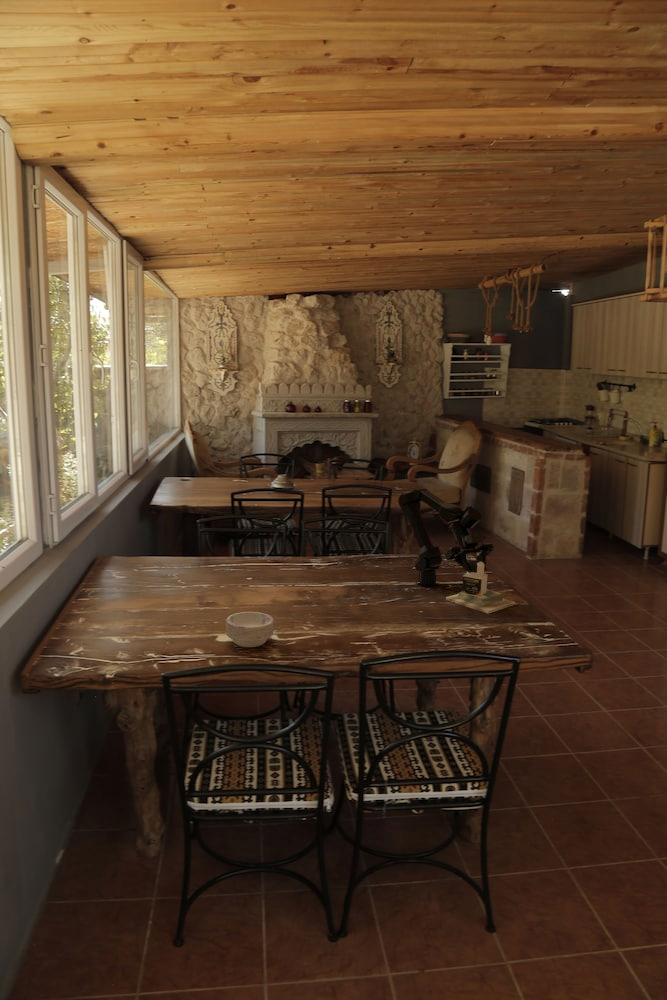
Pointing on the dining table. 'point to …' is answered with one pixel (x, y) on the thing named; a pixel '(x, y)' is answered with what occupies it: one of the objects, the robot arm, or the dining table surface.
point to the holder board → (482, 601)
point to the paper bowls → (249, 628)
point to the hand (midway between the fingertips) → (477, 571)
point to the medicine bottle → (475, 580)
